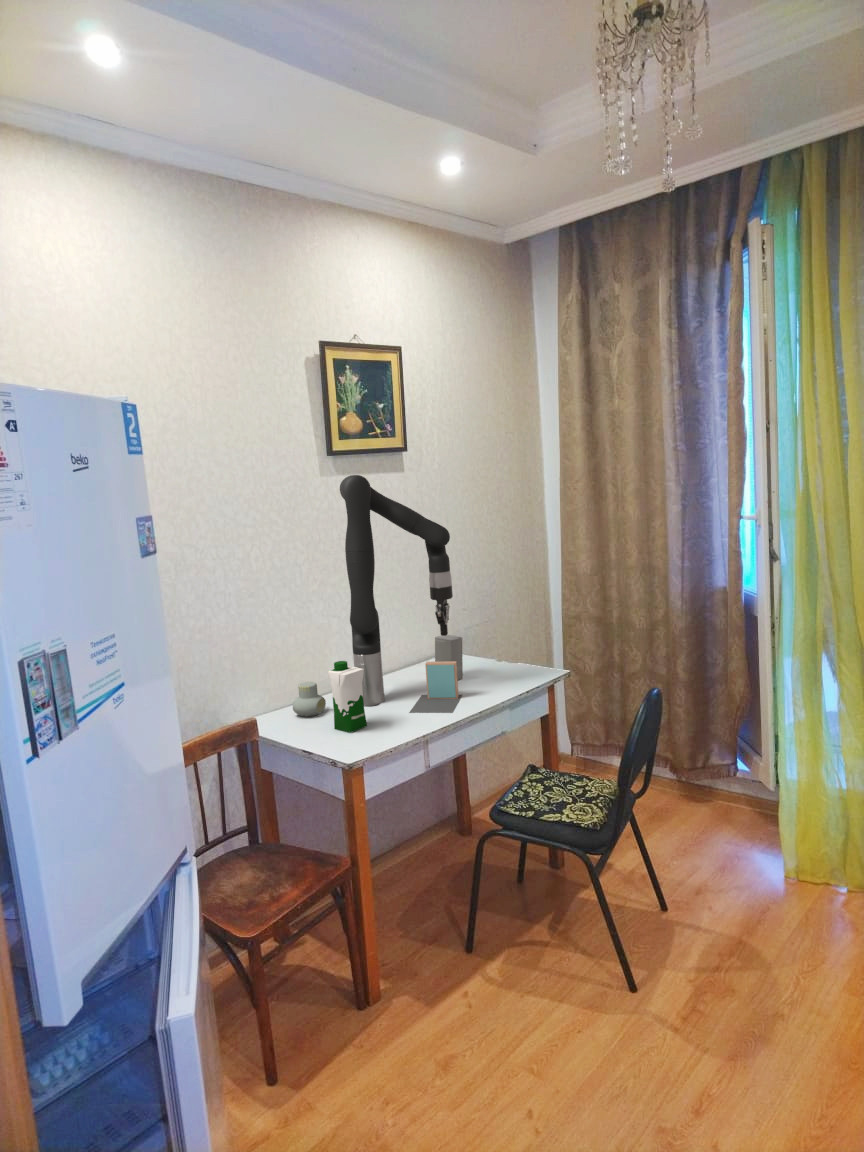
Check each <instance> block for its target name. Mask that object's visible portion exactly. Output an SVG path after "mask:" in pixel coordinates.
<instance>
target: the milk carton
mask: <svg viewBox="0 0 864 1152" xmlns="http://www.w3.org/2000/svg"><path fill="white" fill-rule="evenodd" d="M333 668H334V669H331V670H329V671H327V674H328V677H329V681H330V684H331V685H330V686H331V694H332V704H333V725H334V728H333V729H334V730H337V731H340V732H345V733H349V734H352V733H354V732H357V731H358V730H359V731H360V729H364V728H366V727H368V724H367V718H366V717H367V716H366V712H365V711H366V710H365V706H364V700H363V687H362V680H363V672H364V669H361V668H358V667H354V666H351V665H350V666H349V664H348V661H347V660H337V661H335V662H333Z"/></svg>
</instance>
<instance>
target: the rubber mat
mask: <svg viewBox="0 0 864 1152" xmlns="http://www.w3.org/2000/svg"><path fill="white" fill-rule="evenodd" d="M462 697H463V694H459V697H458V699H428V695H427V694H421V695H420V697H419V698H418V700H416V702H415V704H414V705H413V707H412V708H411V709H410V710H409V712H408V714H453V713H454V712H455V710H456V708H457V706H458V704H459V703H460V701H461V699H462Z"/></svg>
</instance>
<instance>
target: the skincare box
mask: <svg viewBox="0 0 864 1152" xmlns="http://www.w3.org/2000/svg"><path fill="white" fill-rule="evenodd" d="M446 661H457V677H458V681H460V680H462V678H464V677H463V674H464V673H463V637H462V636H457V635H453V634H452V635H451V634H447V635H446V636H441V635H438V636H435V637H434V662H446ZM459 679H460V680H459Z"/></svg>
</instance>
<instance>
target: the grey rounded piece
mask: <svg viewBox="0 0 864 1152" xmlns="http://www.w3.org/2000/svg"><path fill="white" fill-rule="evenodd" d="M297 688H298V697H296V698H295V699H294V701H293V702H292V711H293V712H294V713H295V714H296V715H299V716H302V717H314V716H318V715H319V714H321V713H322V712H323V711H324V710H325V707H326V704H327V703H326V702H327V701H326V699H325V697H324V696H322V695H319V693H318V683H317V682H315V681H303V682H301V683H299V684H298V687H297Z"/></svg>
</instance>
